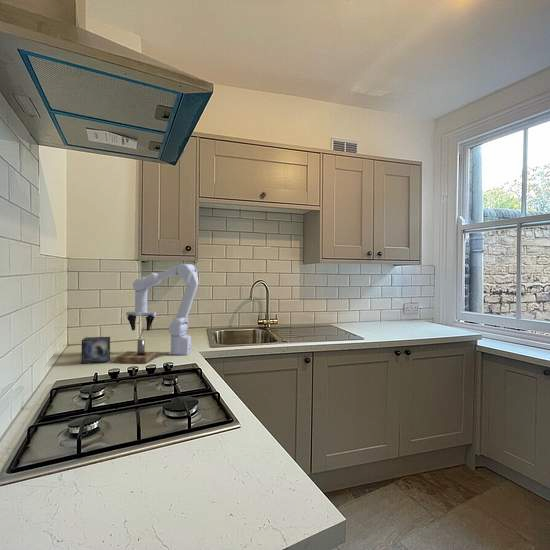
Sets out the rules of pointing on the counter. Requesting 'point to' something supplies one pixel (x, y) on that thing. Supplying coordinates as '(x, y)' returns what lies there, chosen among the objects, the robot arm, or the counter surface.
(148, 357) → the hole block
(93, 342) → the small box
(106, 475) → the counter surface
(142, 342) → the peg
